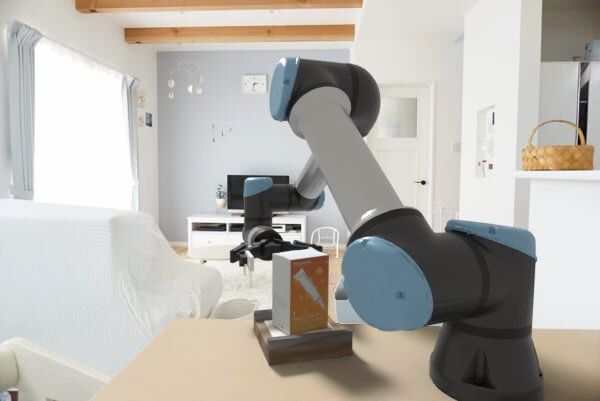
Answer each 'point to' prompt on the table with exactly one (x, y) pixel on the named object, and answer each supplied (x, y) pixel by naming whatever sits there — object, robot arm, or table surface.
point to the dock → (300, 341)
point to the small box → (300, 290)
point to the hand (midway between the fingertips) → (286, 262)
